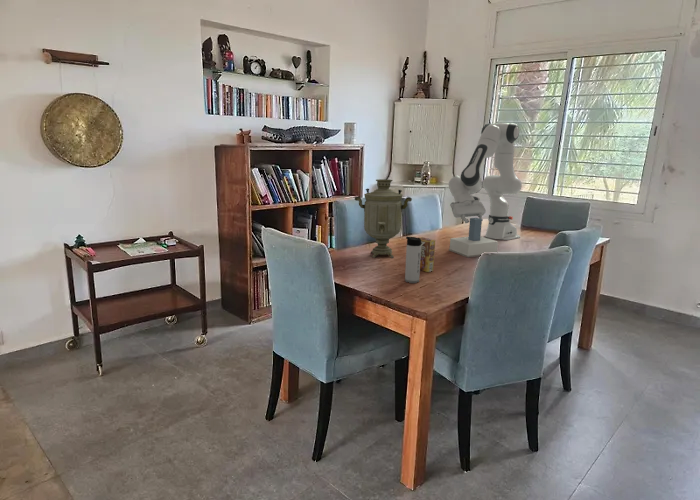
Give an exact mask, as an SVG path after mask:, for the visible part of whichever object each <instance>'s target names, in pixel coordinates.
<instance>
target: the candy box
mask: <svg viewBox="0 0 700 500" xmlns="http://www.w3.org/2000/svg"><path fill="white" fill-rule="evenodd" d="M417 238H420V239H421V258H420V271H421V272H422V271H423V272H425V273H430V272H431V271H432V272H434V266H435V265H434V264H435V263H434V262H435V249H436V240H435V239H431V238H428V237H423V236H419V237H417Z"/></svg>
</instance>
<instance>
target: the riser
mask: <svg viewBox="0 0 700 500" xmlns="http://www.w3.org/2000/svg"><path fill="white" fill-rule="evenodd" d="M468 237H469V236H461V237H451V238H450V241H449V243H450V244H449V248H448V251H450V252H452V253H455V254H458V255H460V256H463V257H464V258H465V257H466V258H468V259H469V258H474V257H475V258H477V257H481V256H480V255H481V254H482V253H484V252H497V253H498V247H499V241H497V240H496V239H492V238H488V237H485V236H480V241H472V240H469V239H468Z"/></svg>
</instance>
